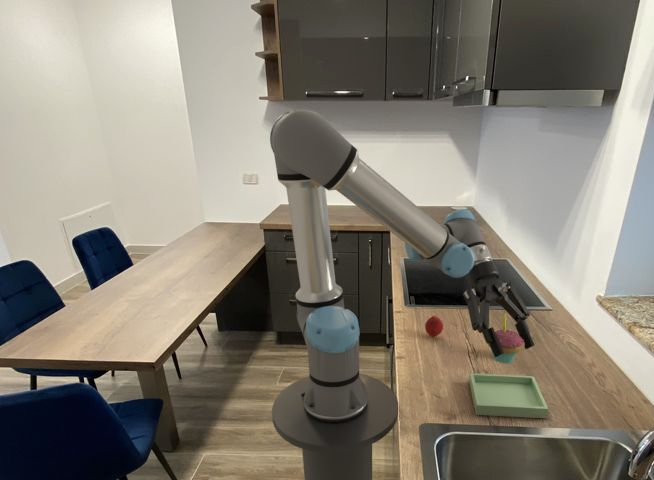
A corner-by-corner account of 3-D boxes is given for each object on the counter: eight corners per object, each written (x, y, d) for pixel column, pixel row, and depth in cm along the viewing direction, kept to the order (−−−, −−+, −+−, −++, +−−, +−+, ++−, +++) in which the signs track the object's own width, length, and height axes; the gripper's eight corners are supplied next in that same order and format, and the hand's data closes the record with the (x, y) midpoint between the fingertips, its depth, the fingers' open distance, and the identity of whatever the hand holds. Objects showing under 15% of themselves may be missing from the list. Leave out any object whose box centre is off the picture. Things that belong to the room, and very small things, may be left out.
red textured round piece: (443, 340, 142) (445, 318, 139) (425, 341, 142) (427, 318, 139) (440, 332, 148) (442, 310, 144) (423, 333, 147) (424, 311, 144)
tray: (475, 414, 106) (476, 405, 105) (469, 382, 120) (470, 373, 119) (546, 418, 105) (548, 408, 104) (532, 385, 118) (533, 376, 117)
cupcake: (478, 353, 111) (483, 309, 106) (507, 348, 113) (513, 304, 108) (499, 370, 103) (505, 323, 98) (529, 363, 106) (536, 318, 101)
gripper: (449, 265, 103) (486, 355, 97) (520, 254, 112) (559, 336, 105) (436, 280, 110) (469, 365, 103) (504, 268, 118) (539, 347, 111)
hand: (514, 351), depth 104 cm, fingers closed on cupcake, 8 cm apart
